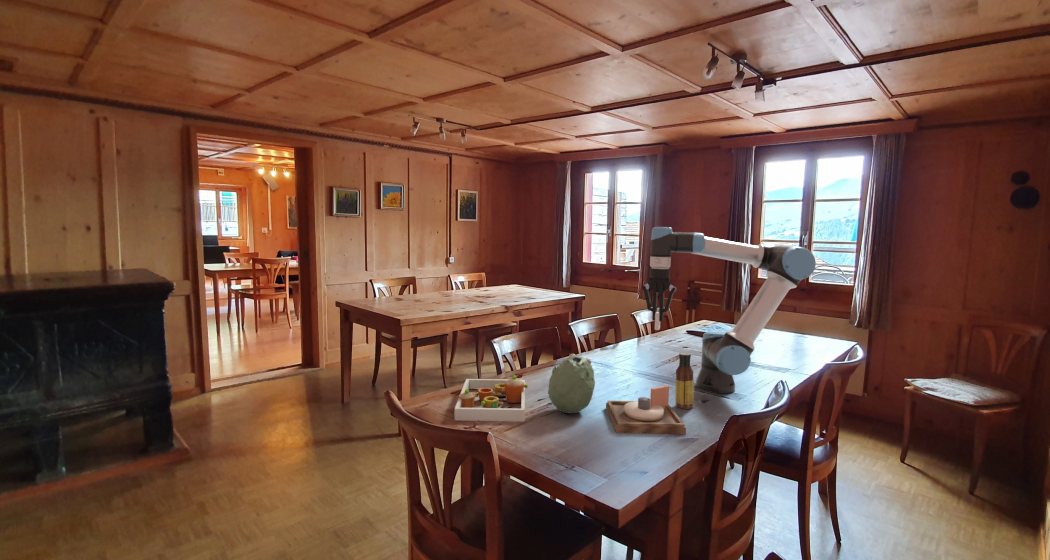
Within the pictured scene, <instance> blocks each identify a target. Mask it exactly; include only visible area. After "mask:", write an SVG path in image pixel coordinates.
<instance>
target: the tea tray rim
mask: <svg viewBox="0 0 1050 560" xmlns="http://www.w3.org/2000/svg"><path fill="white" fill-rule="evenodd" d="M509 379H510V378H509ZM509 379H508V378H507V379H503V378H502V379H501V378H500V379H499V378H497V379H496V378H495V379H494V378H465V381H464V383H463V386H462V389H461V391H460V394H462V393H465V390H466V389H468V390H469V388H471V389H472V388H473V389H474V388H491V389H494V388H493V387H494V385H496V384H504V383H505V382H506V381H507V380H509ZM520 380H521V381H522V382H523V383H524V385H525V384H526V380H525V379H520ZM469 391H470V390H469ZM525 401H526V388H524V390H523V392H522V398H521V402H520V403H521V404H520V405H521V407H520V408H515V407H514V408H508V407H507V408H506V407H504V408H502V407H501V408H483V407H473V408H462V399H460V398H459V397H458V399H457V401H456V404H455V406H454V421H460V422H461V421H471V422H475V421H477V422H479V421H480V422H481V421H482V422H524V421H525V419H526V418H525V414H526V411H525V409H526V402H525ZM478 420H479V421H478Z"/></svg>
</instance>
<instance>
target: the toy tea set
mask: <svg viewBox="0 0 1050 560" xmlns="http://www.w3.org/2000/svg"><path fill="white" fill-rule="evenodd" d="M521 380H522V379H519V378H517V376H516V375H512V377H511V378H509V380H507V381H506V382H505V383H504V384H496V385H494V387H493V388H494V390H493V389H491V388H481V389H479V390H477V392H475V393H472V392H470V390H468V389H466V390H465V393H462V394H461V393H460V394H459V395H458V399H459V398H460V399H462V408H474V405H475V398H478V399H479V402H480V404H481V406H482V407H481V408H502V405H504V401H499V397H501V398H502V397H505V399H506V402H507V403H512V404H518V403H521V398H522V392H523V390H524V388H525V389H528V387H529V385H528V384H527V383H525V385H524V383H523V382H522V381H521Z"/></svg>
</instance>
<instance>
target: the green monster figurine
mask: <svg viewBox="0 0 1050 560" xmlns="http://www.w3.org/2000/svg"><path fill="white" fill-rule="evenodd" d="M591 364H592V360H591V359H590V358H588V357H586V358H585V357H583V356H579V355H576V354H575V353H569V356H568V357H567V358H565V359H564V360H562V361H561V362H559V365H558V366H555V365H554V366H553V368H552V371H551V375H550V378H549V381H548V390H547V394H548V398H549V401H550V402H551V403H552V404H553V406H555V408H556V409H557V410H559V411H560V412H562V413H565V414H575V413H577V414H578V413H579V412H581V411H583V410H584V409H586V408H587V407H588V406H589V405H590V402H591V401H592V398H593V394H594V390H595V386H596V385H595V384H596V381H595V371H594V368H593V365H591Z"/></svg>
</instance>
